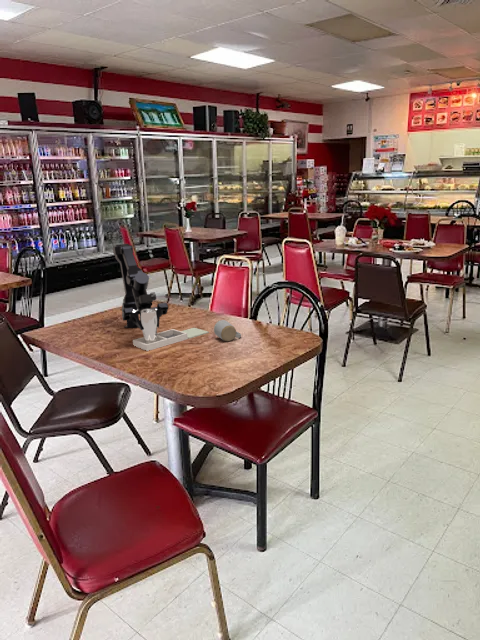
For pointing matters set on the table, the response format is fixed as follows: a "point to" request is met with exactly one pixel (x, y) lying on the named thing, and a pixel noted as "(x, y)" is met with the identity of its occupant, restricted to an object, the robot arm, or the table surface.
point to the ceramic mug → (225, 330)
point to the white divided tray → (168, 338)
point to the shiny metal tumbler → (149, 325)
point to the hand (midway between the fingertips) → (150, 328)
